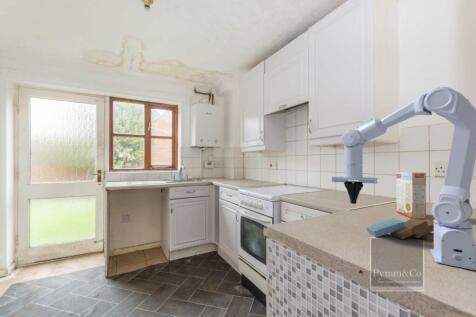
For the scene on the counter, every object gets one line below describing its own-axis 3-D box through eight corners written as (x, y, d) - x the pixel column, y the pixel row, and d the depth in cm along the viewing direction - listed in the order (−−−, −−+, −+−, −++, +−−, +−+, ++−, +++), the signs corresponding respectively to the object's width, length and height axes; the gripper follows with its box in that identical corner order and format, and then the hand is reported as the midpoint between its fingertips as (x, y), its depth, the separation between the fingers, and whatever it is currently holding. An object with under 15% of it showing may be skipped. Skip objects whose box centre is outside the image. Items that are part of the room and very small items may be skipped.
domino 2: (390, 235, 75) (415, 223, 76) (402, 239, 70) (429, 226, 71) (388, 229, 75) (413, 217, 76) (399, 233, 70) (426, 220, 71)
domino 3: (403, 234, 76) (427, 224, 77) (417, 238, 71) (442, 227, 72) (401, 229, 76) (425, 218, 77) (414, 232, 71) (439, 221, 72)
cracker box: (427, 219, 97) (427, 172, 97) (411, 219, 98) (411, 172, 98) (409, 212, 110) (409, 171, 111) (395, 212, 112) (395, 171, 112)
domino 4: (416, 237, 75) (449, 239, 73) (427, 243, 70) (462, 245, 68) (416, 231, 75) (449, 233, 73) (427, 236, 70) (462, 238, 68)
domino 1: (374, 231, 72) (403, 221, 72) (366, 227, 77) (393, 218, 77) (376, 237, 72) (405, 227, 72) (368, 232, 77) (395, 223, 77)
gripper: (372, 165, 79) (372, 202, 79) (329, 164, 83) (329, 200, 83) (379, 165, 72) (379, 206, 72) (332, 164, 76) (332, 203, 76)
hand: (353, 203), depth 77 cm, fingers closed
